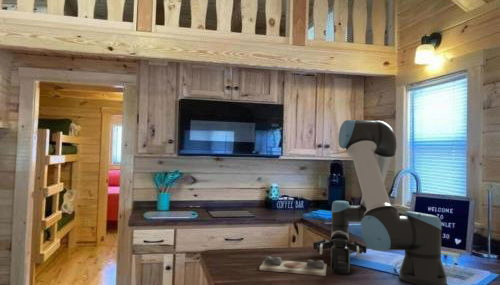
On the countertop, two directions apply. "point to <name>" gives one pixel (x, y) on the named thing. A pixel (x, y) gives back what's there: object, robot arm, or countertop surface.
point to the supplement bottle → (340, 257)
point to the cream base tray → (294, 266)
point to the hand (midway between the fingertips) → (339, 252)
